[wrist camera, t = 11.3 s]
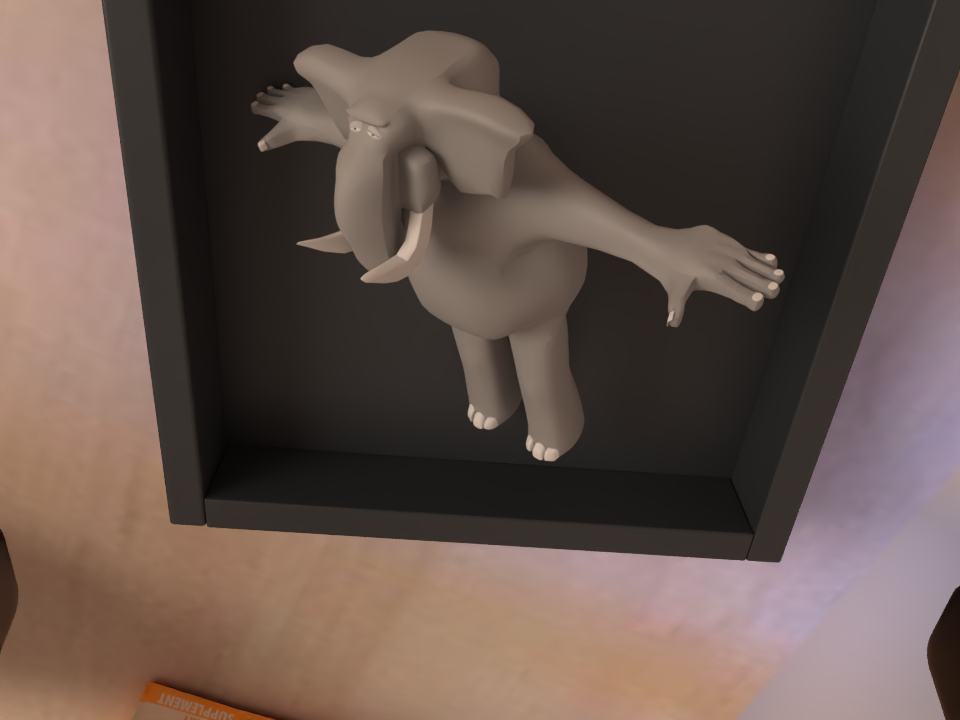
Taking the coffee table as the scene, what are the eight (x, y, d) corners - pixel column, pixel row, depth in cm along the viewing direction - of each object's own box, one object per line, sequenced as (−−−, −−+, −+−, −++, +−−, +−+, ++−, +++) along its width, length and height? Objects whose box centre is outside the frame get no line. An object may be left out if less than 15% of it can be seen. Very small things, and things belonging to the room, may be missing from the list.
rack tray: (202, 453, 20) (168, 525, 18) (127, -297, 13) (54, -331, 11) (748, 489, 21) (780, 563, 19) (970, -205, 14) (1067, -219, 11)
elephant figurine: (278, 412, 19) (58, 65, 12) (441, 249, 22) (334, -118, 15) (660, 662, 14) (655, 320, 7) (815, 415, 17) (921, -18, 10)
